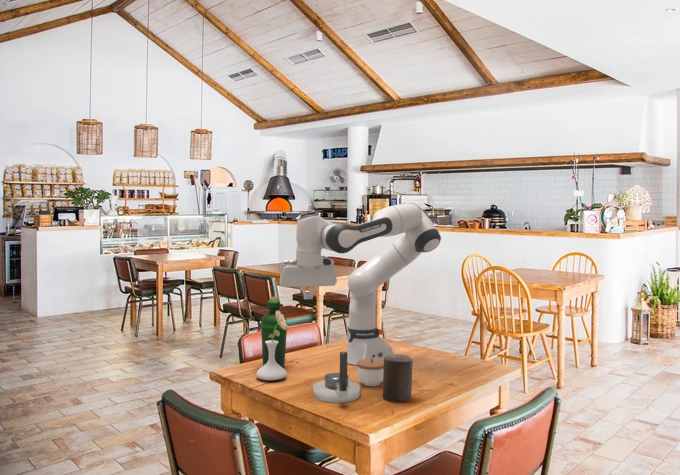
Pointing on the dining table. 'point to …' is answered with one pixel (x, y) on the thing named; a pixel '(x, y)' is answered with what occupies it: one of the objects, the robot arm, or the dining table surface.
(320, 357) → the dining table surface
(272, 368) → the flower in vase
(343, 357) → the saucepan with upright handle
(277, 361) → the bottle
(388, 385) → the pillar candle
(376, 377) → the lidded jar
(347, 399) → the light grey round disc
